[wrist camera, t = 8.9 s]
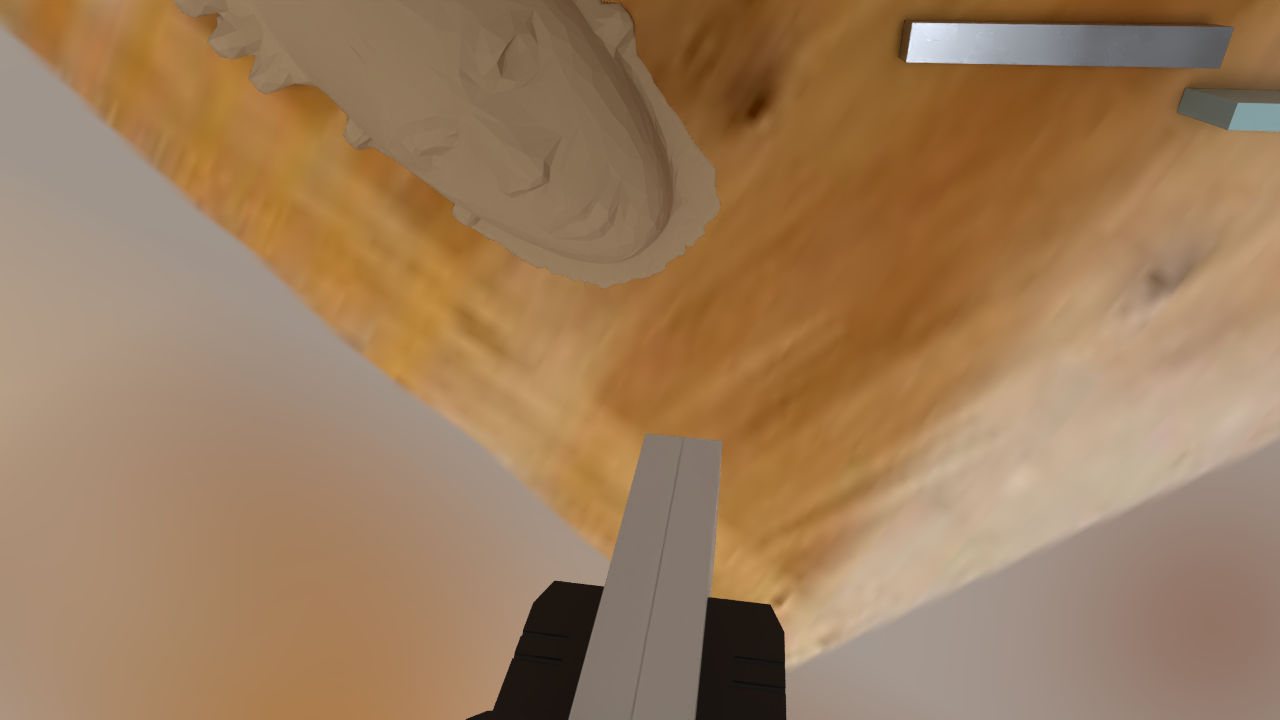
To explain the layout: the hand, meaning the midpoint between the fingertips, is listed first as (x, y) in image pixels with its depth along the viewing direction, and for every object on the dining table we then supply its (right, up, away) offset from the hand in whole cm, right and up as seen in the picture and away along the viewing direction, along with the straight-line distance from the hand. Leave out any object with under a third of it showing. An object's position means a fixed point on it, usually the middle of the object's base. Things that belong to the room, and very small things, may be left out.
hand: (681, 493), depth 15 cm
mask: (-9, +17, +21) cm, 29 cm away
